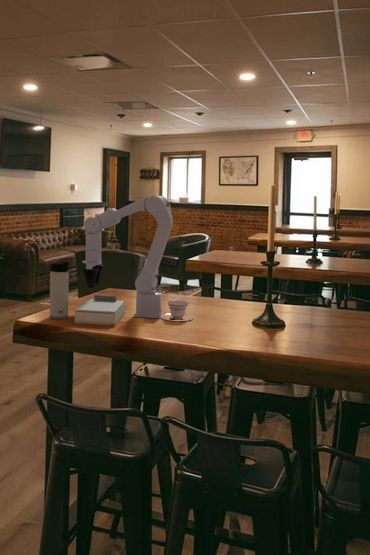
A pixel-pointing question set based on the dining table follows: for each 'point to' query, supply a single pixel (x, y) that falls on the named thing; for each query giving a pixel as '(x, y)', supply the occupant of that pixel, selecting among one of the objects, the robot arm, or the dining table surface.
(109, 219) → the robot arm
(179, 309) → the teacup
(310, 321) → the dining table surface
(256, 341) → the dining table surface
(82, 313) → the box
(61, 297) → the travel mug
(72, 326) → the dining table surface
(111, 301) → the lid
